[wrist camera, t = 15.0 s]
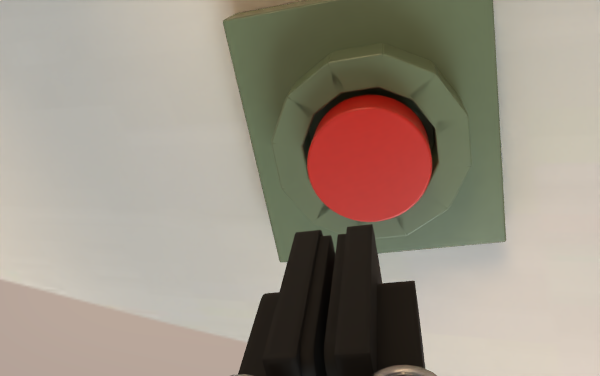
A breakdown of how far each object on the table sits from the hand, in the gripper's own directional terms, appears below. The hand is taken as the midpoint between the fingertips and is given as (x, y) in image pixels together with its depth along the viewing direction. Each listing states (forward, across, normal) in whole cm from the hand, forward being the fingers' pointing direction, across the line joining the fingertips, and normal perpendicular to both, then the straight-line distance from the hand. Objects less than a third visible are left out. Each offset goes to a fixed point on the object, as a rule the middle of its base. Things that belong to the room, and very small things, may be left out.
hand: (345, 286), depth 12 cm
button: (+10, 0, +1) cm, 10 cm away
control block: (+13, 0, +1) cm, 13 cm away
